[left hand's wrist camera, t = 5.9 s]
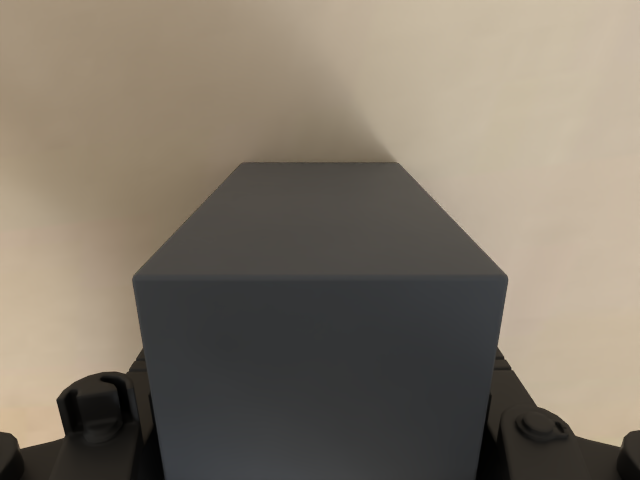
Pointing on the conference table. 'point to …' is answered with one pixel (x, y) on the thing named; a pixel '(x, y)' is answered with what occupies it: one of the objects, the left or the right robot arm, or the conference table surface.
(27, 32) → the conference table surface
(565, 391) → the conference table surface
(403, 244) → the post
